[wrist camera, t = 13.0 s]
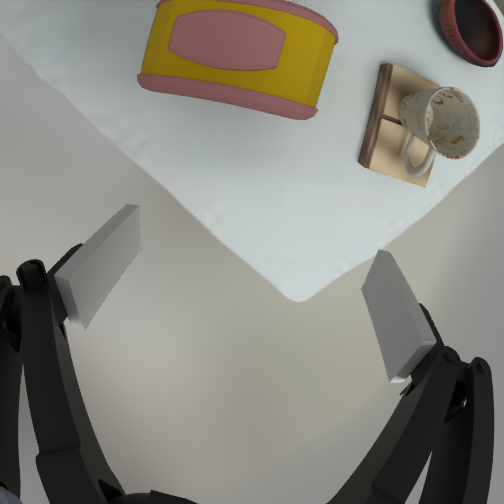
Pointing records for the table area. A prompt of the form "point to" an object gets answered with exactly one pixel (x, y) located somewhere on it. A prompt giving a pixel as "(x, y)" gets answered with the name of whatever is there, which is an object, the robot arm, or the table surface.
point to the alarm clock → (240, 54)
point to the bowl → (472, 30)
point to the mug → (439, 124)
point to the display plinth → (394, 126)
